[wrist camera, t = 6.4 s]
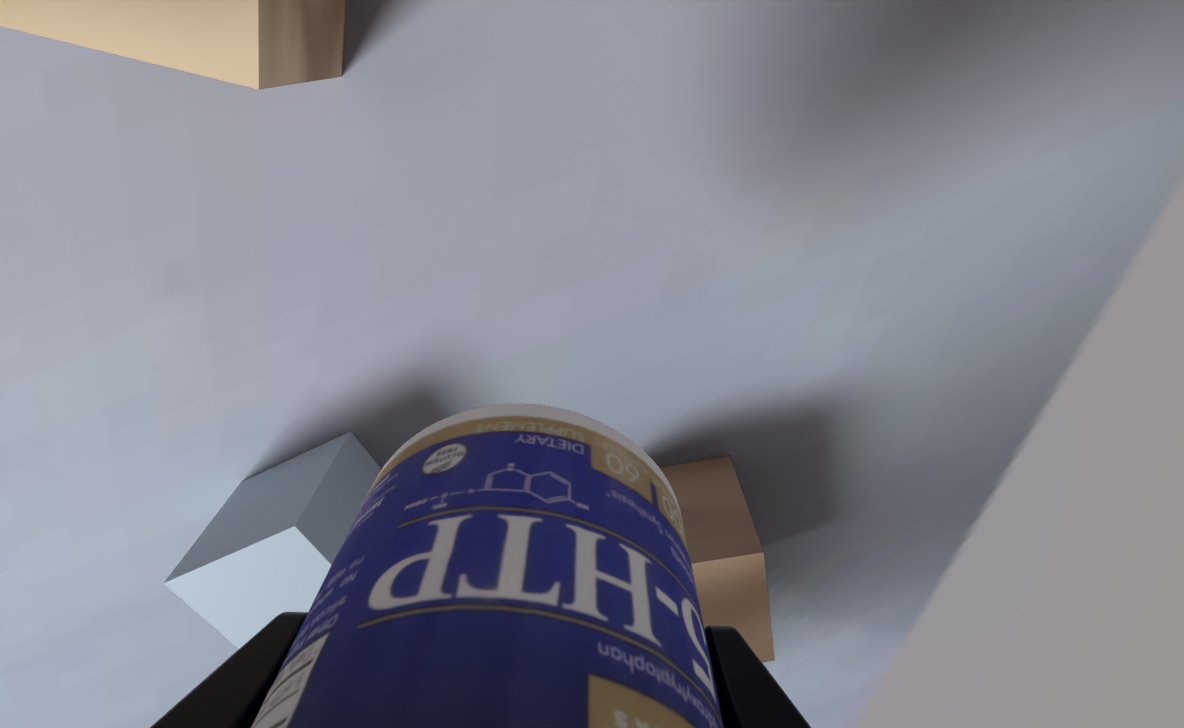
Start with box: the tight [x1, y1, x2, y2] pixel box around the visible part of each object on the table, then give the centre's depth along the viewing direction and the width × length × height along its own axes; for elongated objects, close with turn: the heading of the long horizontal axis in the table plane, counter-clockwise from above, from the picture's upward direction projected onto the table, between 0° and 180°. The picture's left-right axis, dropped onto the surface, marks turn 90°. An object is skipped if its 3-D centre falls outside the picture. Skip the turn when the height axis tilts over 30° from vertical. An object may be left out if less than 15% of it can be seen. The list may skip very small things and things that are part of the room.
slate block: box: [164, 431, 382, 649], centre depth 22 cm, size 5×5×5 cm
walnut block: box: [659, 455, 775, 662], centre depth 22 cm, size 5×5×5 cm
